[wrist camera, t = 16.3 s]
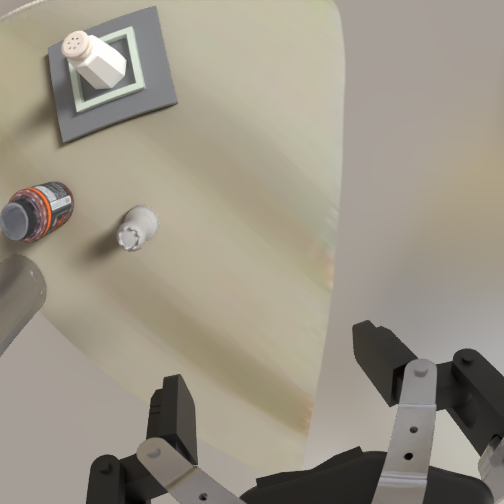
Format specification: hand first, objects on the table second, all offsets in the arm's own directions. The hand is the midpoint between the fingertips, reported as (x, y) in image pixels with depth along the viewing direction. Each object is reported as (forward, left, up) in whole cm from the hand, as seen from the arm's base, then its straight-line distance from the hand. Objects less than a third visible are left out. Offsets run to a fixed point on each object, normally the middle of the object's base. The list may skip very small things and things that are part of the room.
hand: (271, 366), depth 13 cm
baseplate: (-9, +23, -28) cm, 37 cm away
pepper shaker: (-9, +23, -27) cm, 36 cm away
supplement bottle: (-21, +9, -28) cm, 36 cm away
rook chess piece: (-10, +3, -28) cm, 30 cm away
